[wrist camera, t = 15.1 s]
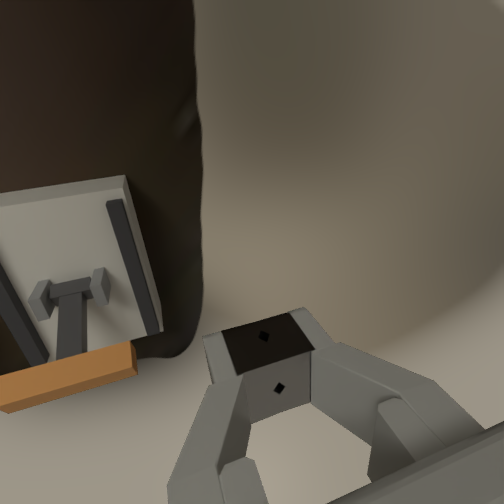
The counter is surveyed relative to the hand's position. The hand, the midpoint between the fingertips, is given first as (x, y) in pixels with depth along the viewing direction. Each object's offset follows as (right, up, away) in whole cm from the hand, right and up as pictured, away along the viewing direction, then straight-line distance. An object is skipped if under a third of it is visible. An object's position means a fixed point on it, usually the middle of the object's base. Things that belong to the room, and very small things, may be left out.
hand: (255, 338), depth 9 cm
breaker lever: (-18, -1, +22) cm, 28 cm away
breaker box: (-20, +2, +28) cm, 35 cm away
